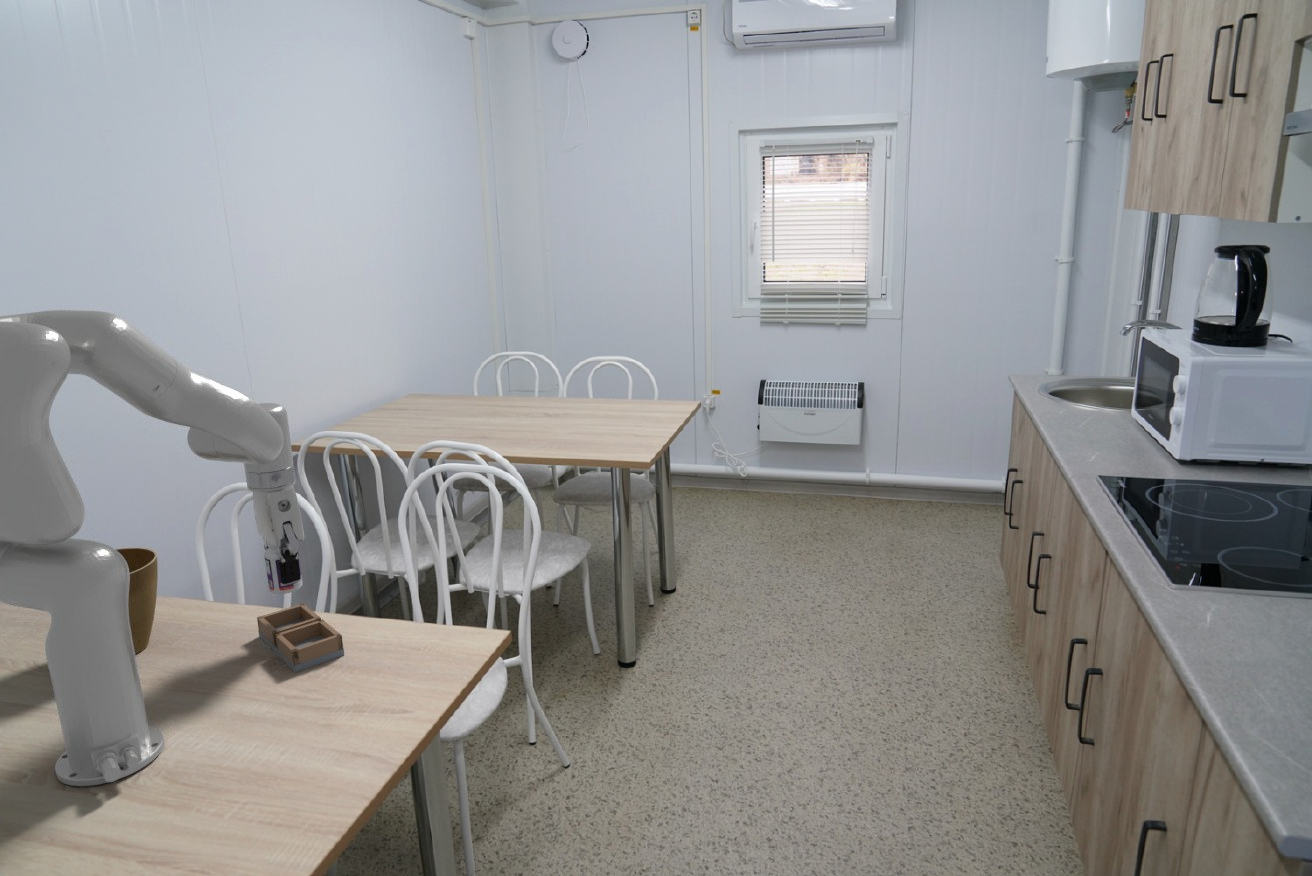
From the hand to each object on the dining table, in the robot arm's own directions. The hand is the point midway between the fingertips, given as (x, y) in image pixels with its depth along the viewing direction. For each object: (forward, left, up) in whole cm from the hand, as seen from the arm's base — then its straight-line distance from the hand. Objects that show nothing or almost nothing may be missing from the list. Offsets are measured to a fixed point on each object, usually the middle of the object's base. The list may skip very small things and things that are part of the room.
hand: (284, 575), depth 146 cm
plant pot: (+15, +23, -12) cm, 30 cm away
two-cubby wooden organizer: (-5, 0, -12) cm, 13 cm away
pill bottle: (0, 0, -3) cm, 3 cm away
